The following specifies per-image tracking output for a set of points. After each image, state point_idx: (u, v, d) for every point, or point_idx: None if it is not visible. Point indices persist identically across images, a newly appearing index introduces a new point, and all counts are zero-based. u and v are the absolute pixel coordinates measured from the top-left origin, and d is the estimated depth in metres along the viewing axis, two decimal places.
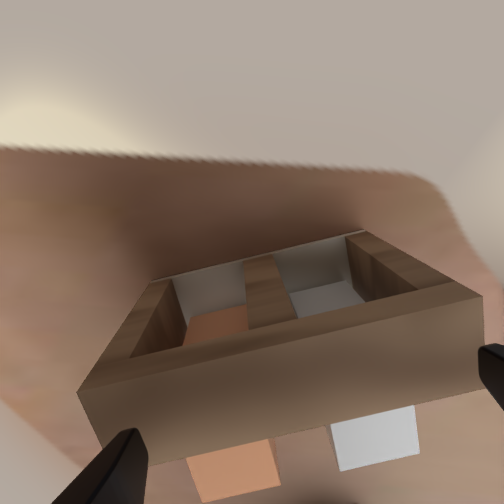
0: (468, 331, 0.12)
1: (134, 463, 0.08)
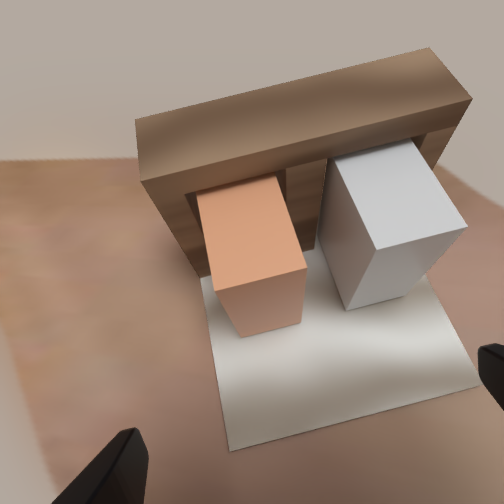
0: (430, 65, 0.16)
1: (134, 463, 0.08)
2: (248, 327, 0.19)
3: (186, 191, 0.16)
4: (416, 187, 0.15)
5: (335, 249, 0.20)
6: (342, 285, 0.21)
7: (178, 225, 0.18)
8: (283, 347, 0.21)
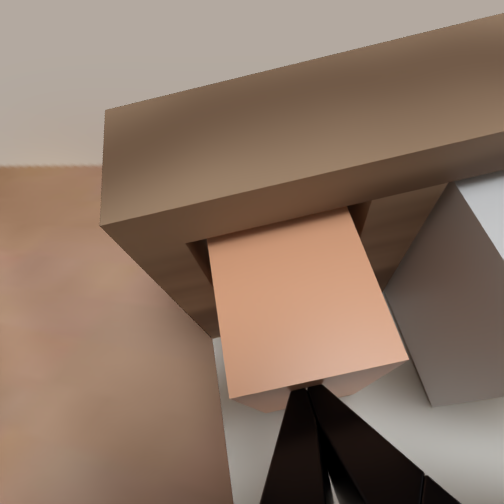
0: None
1: None
2: (278, 407, 0.13)
3: (189, 239, 0.09)
4: None
5: (423, 317, 0.13)
6: (431, 372, 0.13)
7: (178, 284, 0.11)
8: None
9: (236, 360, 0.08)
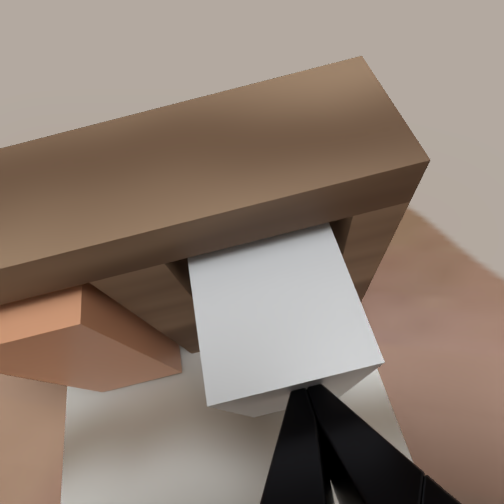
0: (358, 89, 0.08)
1: None
2: (94, 383, 0.14)
3: None
4: (304, 273, 0.08)
5: None
6: None
7: None
8: None
9: None
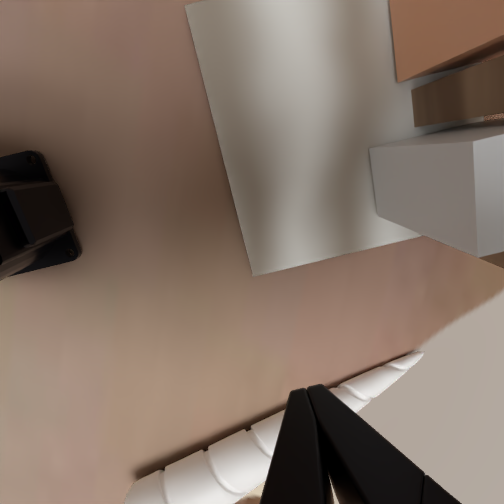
0: None
1: None
2: None
3: None
4: None
5: (455, 131, 0.16)
6: (402, 141, 0.17)
7: None
8: (294, 78, 0.18)
9: None
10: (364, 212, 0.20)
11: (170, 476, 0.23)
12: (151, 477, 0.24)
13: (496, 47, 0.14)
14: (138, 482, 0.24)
